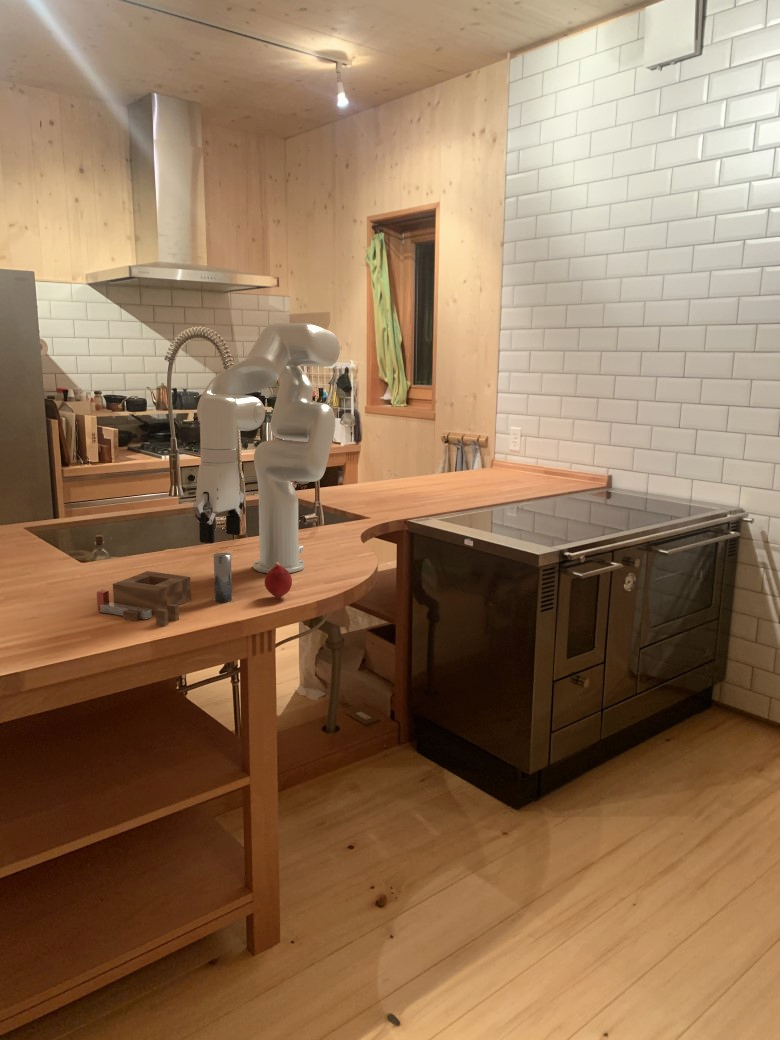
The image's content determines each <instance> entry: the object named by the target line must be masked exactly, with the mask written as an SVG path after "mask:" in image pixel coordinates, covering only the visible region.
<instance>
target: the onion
mask: <svg viewBox="0 0 780 1040" xmlns="http://www.w3.org/2000/svg"><path fill="white" fill-rule="evenodd" d="M264 577H265V579H264V587H265V588H266V590H267V592H269V593H270V594H271V595H272V596H274V598H276V599H280V598H282V597H283V596H285V595H286V594H287V593H288V592H289V591H290V590H291V588H292V585H293V578H292V575H291V573H289V572H288V571H287V570H286V569H285V568H284V567H282V566H281V565H280V564H279V563H278V562H276V563H275V567H273V568H272V569H271V570H270V571H269V572H268V573H266V576H264Z"/></svg>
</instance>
